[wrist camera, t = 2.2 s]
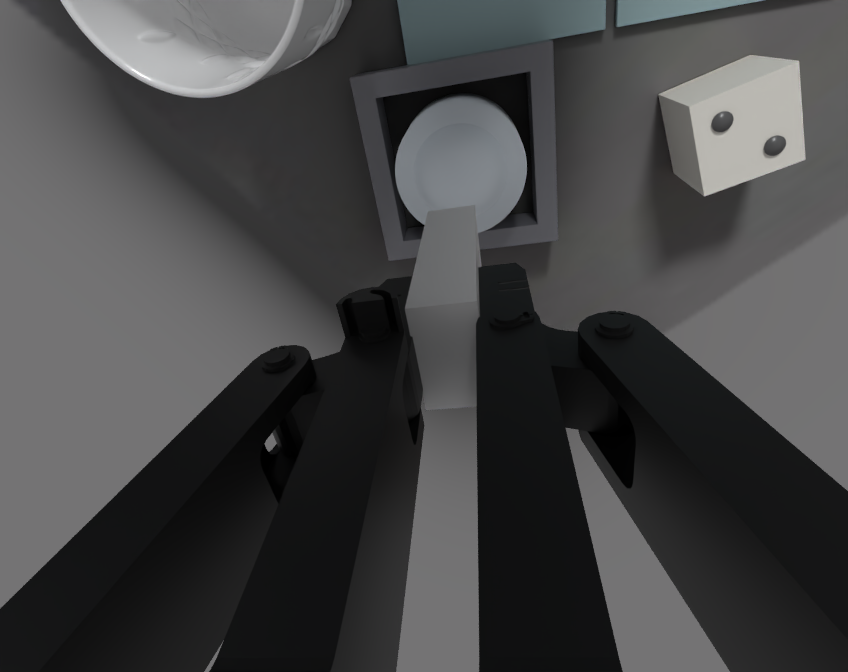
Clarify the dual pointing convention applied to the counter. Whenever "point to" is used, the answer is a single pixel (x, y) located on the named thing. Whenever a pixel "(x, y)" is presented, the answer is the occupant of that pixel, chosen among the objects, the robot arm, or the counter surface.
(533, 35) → the tile
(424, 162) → the dome
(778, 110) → the die
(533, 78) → the frame
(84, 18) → the white cup
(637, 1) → the tile
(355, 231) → the counter surface
